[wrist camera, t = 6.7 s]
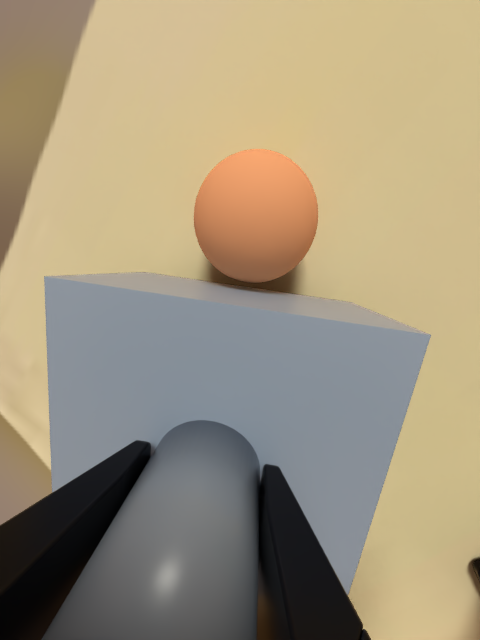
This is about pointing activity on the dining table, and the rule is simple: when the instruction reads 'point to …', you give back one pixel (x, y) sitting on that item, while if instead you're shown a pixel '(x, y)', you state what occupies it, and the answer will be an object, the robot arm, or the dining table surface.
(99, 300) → the block with rounded knob
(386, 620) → the dining table surface
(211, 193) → the ball
